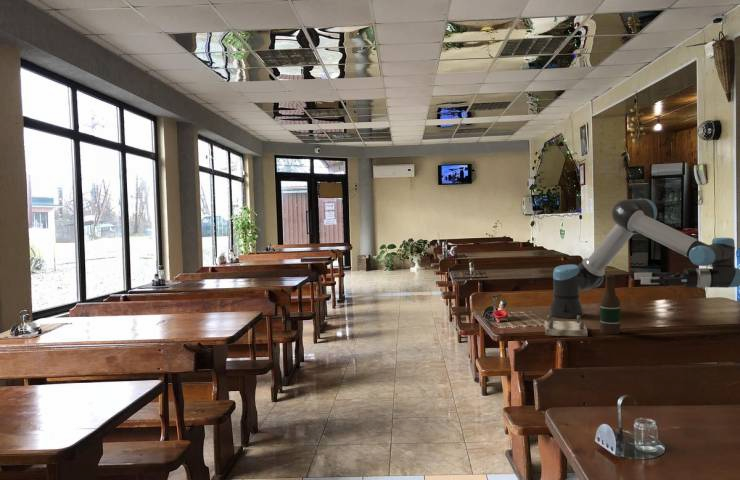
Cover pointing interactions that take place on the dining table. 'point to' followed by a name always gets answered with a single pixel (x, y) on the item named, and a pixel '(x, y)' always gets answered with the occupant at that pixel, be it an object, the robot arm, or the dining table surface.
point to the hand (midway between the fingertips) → (637, 278)
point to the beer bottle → (610, 308)
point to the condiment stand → (565, 327)
